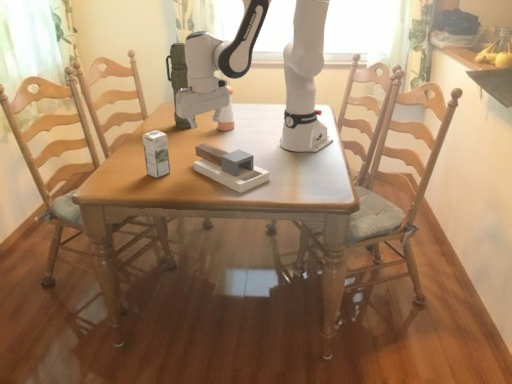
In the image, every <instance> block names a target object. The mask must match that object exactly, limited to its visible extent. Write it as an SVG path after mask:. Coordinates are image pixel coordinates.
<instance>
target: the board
mask: <svg viewBox="0 0 512 384" xmlns="http://www.w3.org/2000/svg"><path fill="white" fill-rule="evenodd" d="M193 171H195V172H197V173H199V174H201V175H204V176H205V177H207V178H209V179H211V180H214V181H215V182H218V183H219V184H222V185H223V186H226V187H228V188H229V189H231V190H234V191H236V192H237V193H240V194H241V193H244V192H247V191H248V190H250V189H253V188H256V187H258V186H260V185H262V184H265V183H266V182H267V183H268V182H269V181H270V180H271V179H270V175H271V173H270V171H268V170H266V169H264V168H261V167H258V166H257V165H254V154H251V153H249V152H246V151H243V150H241V149H237V150H234V151H230V152H228V154H225V155H222V156H221V167H220V166H218V165H216V164H214V163H212V162H209V161H207V160H205V159H203V158H201V159H199V160H196V161H193Z"/></svg>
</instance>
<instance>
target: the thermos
mask: <svg viewBox="0 0 512 384" xmlns="http://www.w3.org/2000/svg"><path fill="white" fill-rule="evenodd" d="M169 59H170V63H169ZM165 65H166V74H167V75H166V76H167V81H169V82H170V84H171V88H172V91H173V92H172V93H173V103H174V104H173V105H174V113H173V116H174V121H175V128H177V129H179V130H188V129H192V128H191V124H190V122H189V121H188V119H187V118H185V119H183V118H180V117H179V116H178V115H177V114H176V93H177V92H178V91H179V90H180V89H185V88H188V79H187V72H188V68H187V64H186V60H185V42H184V43H183V42H174V43H172V44H171V45H170V49H169V55H167V56H166V57H165ZM170 65H171V67H170ZM170 69H171V70H170ZM193 121H194V122H196V115H195V116H194V119H193Z"/></svg>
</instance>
